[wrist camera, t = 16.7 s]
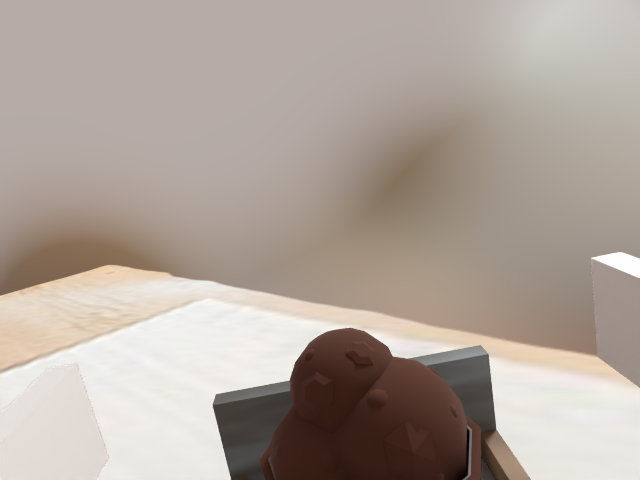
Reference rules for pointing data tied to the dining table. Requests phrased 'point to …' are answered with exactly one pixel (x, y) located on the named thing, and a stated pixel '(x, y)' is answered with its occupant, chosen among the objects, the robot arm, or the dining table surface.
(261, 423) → the frame
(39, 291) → the dining table surface
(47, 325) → the dining table surface
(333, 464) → the ice cream bowl
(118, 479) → the dining table surface
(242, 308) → the dining table surface
